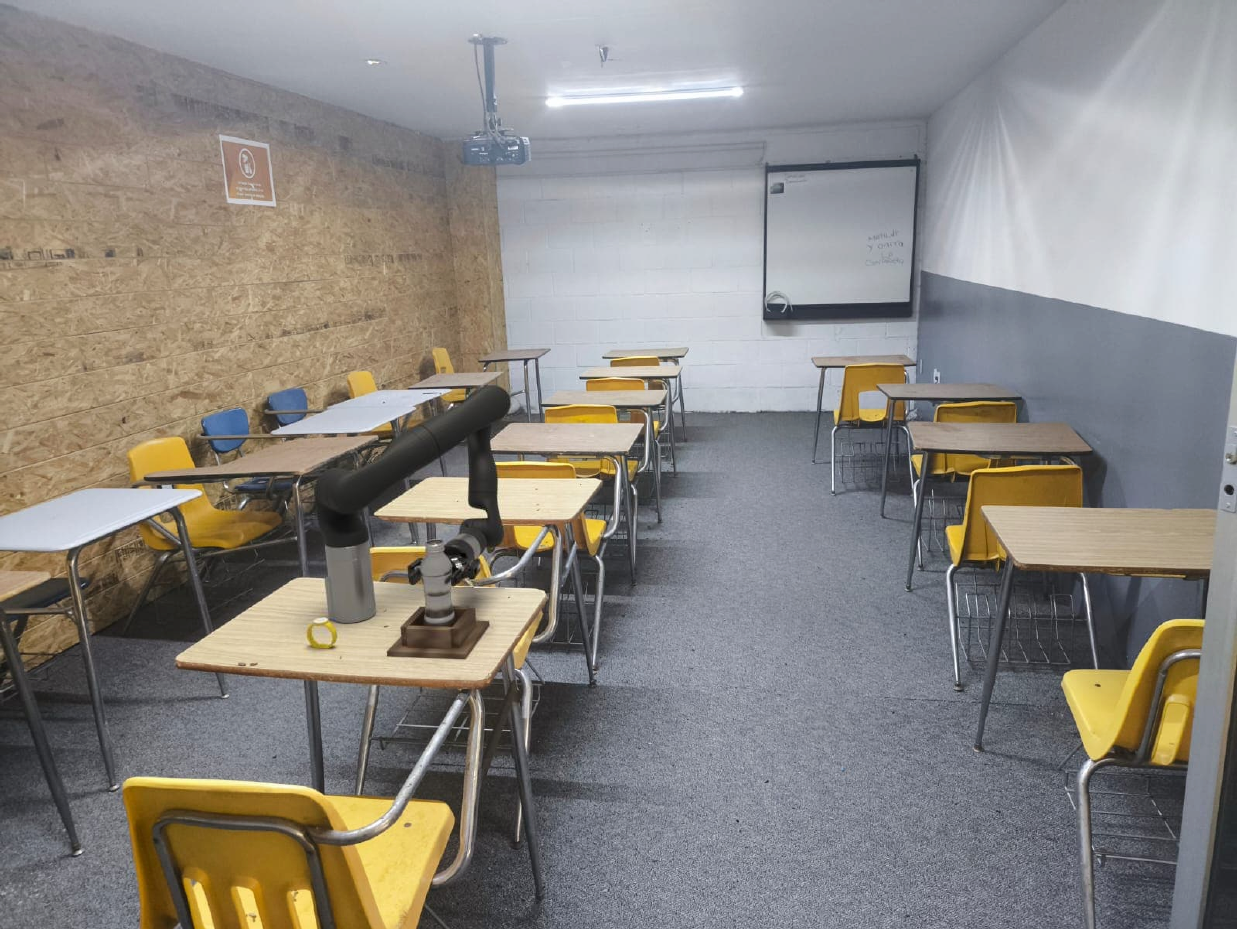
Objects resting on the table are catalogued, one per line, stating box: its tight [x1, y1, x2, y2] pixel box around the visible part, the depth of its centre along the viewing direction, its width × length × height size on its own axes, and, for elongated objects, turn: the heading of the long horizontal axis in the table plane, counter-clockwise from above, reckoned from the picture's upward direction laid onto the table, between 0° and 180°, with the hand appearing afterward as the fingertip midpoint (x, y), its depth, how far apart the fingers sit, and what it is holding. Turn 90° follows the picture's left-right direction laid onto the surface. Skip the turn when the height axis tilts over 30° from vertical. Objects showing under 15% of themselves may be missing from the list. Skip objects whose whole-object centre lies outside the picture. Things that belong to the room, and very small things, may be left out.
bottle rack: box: [386, 605, 491, 660], centre depth 162 cm, size 16×16×5 cm
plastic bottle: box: [420, 538, 456, 627], centre depth 160 cm, size 6×7×20 cm
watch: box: [306, 617, 338, 650], centre depth 160 cm, size 6×3×6 cm, turn 80°
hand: (432, 581), depth 158 cm, fingers open, 8 cm apart
